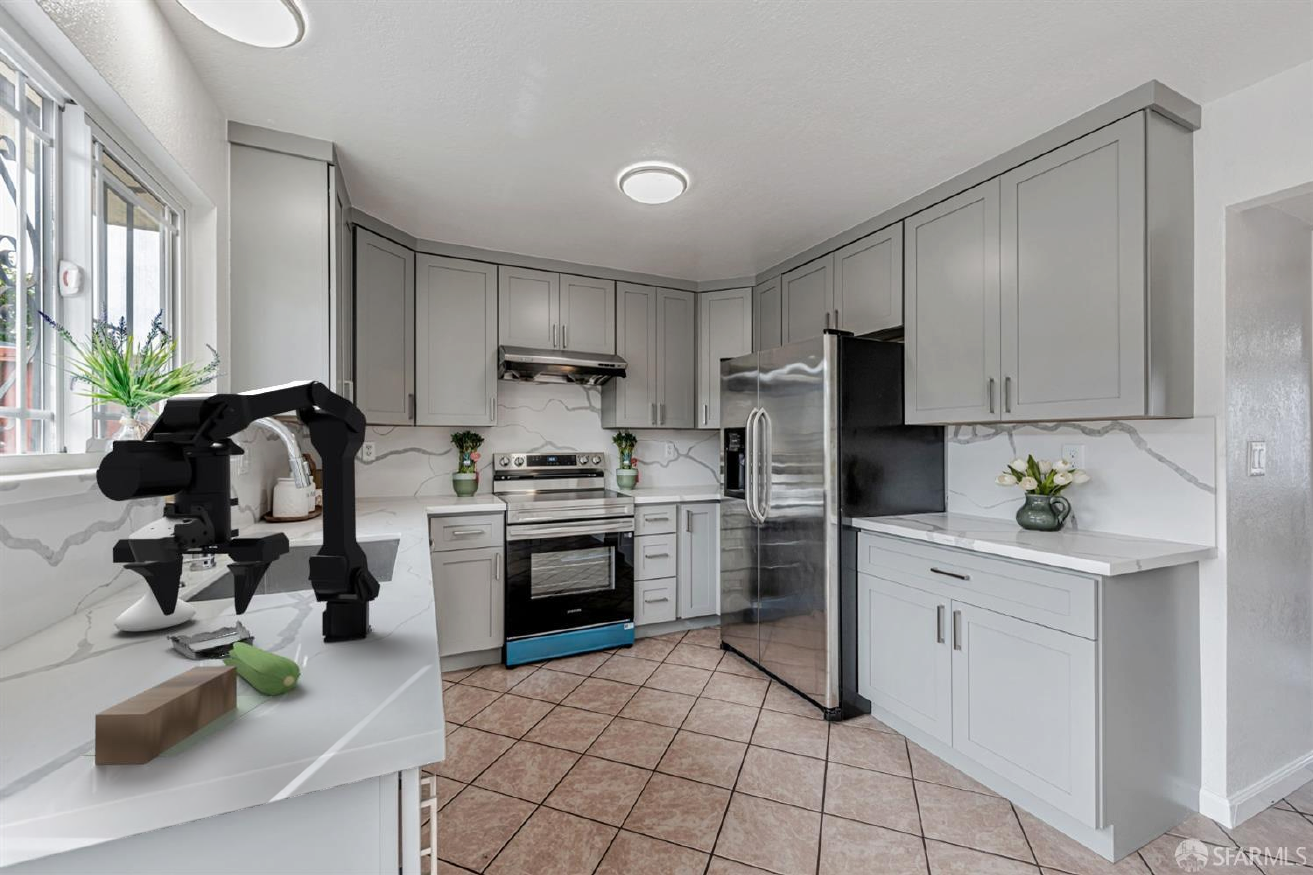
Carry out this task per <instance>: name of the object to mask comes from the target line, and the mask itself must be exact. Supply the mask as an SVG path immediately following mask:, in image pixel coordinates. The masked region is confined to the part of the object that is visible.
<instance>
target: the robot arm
mask: <svg viewBox="0 0 1313 875" xmlns="http://www.w3.org/2000/svg"><path fill="white" fill-rule="evenodd" d="M294 411H295V415H296V419H297V420H298V421H299V423H301V424H302V425H303V426H304V427H305V428H307V429H308V432H309V438H310V443H311V444H310V445H311V446H312V447H313V449H314V450H315V451H316V453H317V454H318V456H319V457H320V459H321V494H322V495H321V500H322V502H321V503H322V504H321V506H322V507H321V508H322V544H321V546H320V548H319V549H318V550H317V553H316V555H310V557H309V558H308V565H309V567H308V568H309V573H308V574H309V575H308V578H307V581H310V583H311V587H312V588H311V589H312V590H313V592H314V597H315V600H316V603H321V602H322V603H323V602H324V603H325V609H324V610H323V611H322V612H321V613H322V614H321V615H322V616H321V617H322V620H321V621H322V622H321V623H322V624H321V626H322V627H321V628H322V633H321V635H322V637H324V638H323V639H322V641H323V643H327V642H328V643H329V642H331V643H332V642H337V641H340V642H341V641H349V640H358V639H365V638H367V636H368V635H369V634H370V633H369V632H370V631H371V629H372V625H371V624H370V602H374V601H375V599H376V598H378V597H379V594H380V589H381V584H380V582H379V581H378V580H377V579H376V578H375V576H374V575H373V574H372V573H371V571H370V570H369V566H368V558H367V555H366V552H365V551H364V550H363V549H362V547H361V546H360V544H359V542H358V541H357V527H356V526H357V519H356V517H357V516H356V509H357V508H356V466H355V465H356V463H355V462H356V457H357V455H358V453H359V451H360V450H361V448H362V446H363V445H364V444H365V440H366V429H367V419H366V416H365V414H364V413H363V412H362V411H361V410H360V408H359V407H357V406H356V405H355V404H354V403H353V402H352V401H351V400H349V399H347V398H345V397H343V396H341V395H339V394H338V393H336V392H334V391H332V390H330V388H329V387H327V385H325V384H324V383H323V382H319V381H318V380H293V381H291V382H290V383H286V384H281V385H276V386H270V387H266V388H265V387H264V388H259V389H254V390H250V391H249V390H248V391H244V392H239V393H200V394H199V393H193V394H192V393H190V394H176V395H173V396H170V397H169V398H167V399H166V404H165V405H164V407H163V409H162V412H161V413H160V414H159V416H158V418H156V420H155V421H154V422H153V424H152V425H151V427H150V428H148V429H149V430H148V431H147V432H146V434H145V435H144V436H143V437H142V439H141V440H140V439H114V440H113V441H112V451H110V452H109V453H106V455H105V456H104V457H103V458H102V459H101V461H100V464H99V466H98V469H96V472H95V478H96V483H97V486H98V489H99V490H100V491H101V493H102V494H103V495H104V496H105V497H106V498H107V499H109V500H111V501H115V502H124V501H125V502H126V501H134V500H135V501H136V500H141V499H142V500H143V499H144V500H145V499H151V498H152V499H153V498H162V497H165V496H171V495H174V502H169V503H164V505H165V507H163V510H162V512H163V515H162V517H161V518H159V519H156V520H154V521H152V522H150V523H148V524H146V525H145V526H143V527H141V528H140V529H137V530H136V531H135V532H133V533H131V534H130V535H128V536H127V537H124V538H121V539H118V541H116V544H115V545H114V546H113V547H112V563H113V564H123V563H124V564H123V565H122V567H123V569H125V570H130V571H132V572H135V573H136V574H139V576H140V575H141V577H143V578H144V580H145V582H146V583H147V584H148V586H150V588H151V590H152V592H153V594H154V596H155V598H156V600H157V602H158V604H159V606H160V608H161V610H162V612H163V614H164V615H165V616H168V615H171V614H173V613H174V611H175V607H176V604H177V599H179V590H180V582H181V576H182V569H183V561H184V555H228V557H229V558H230V559H231V560H232V562H231V563H229V564H228V563H227V564H226V567H227V569H228V570H229V572H231V574H232V575H233V585H234V589H233V590H234V591H233V593H234V594H233V596H234V610H235V615H236V616H240V615H243V614H245V613H246V611H247V609H248V607H249V605H250V603H251V601H252V599H253V597H254V595H255V592H256V590H257V589H258V586H259V585H260V583H261V580H262V579H263V577H264V576H265V574H266V572H267V570H268V569H269V567H270V566H271V564H272V563H273V562H275V561H278V560H280V557H281V556H282V555H285V554H288V553H290V539H289V537H288V536H287V535H286V534H285V533H284V532H283V531H275V532H274V531H268V532H267V531H265V532H264V531H259V532H254V533H249V534H246V535H245V534H244V535H241V536H239V535H240V532H239V531H240V530H239V529H240V528H232V507H235V506H239V497H232V494H231V493H232V488H231V486H232V485H231V474H232V472H231V456H243V455H244V454H245V453H246V452H245V449H244V448H242V447H241V446H239V445H238V444H236V443H235V442H234V440H233V439H232V438H231V437H233V436H235V435H236V434H239V433H241V432H243V431H244V430H246V429H248V428H249V426H250V425H251V423H253V422H255V421H257V420H260V419H265V418H268V417H269V418H271V417H273V416H278V415H280V414H285V413H289V412H294Z"/></svg>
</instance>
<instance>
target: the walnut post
mask: <svg viewBox="0 0 1313 875" xmlns="http://www.w3.org/2000/svg"><path fill="white" fill-rule="evenodd" d="M237 677H238V673H237V666H227V665H208V666H207V665H204V666H202V665H201V666H200V665H196V666H194V667H192V668H190V669H188V670H186V671H184V672H182V673H180V674H178V675H175V676H173V677H172V678H169V679H167V680H165V681H163V682H161V683H158V684H156V685H155V686H153V687H151V688H148V689H146V690H144V691H142V692H140V693H137V694H136V695H134V696H131V697H130V698H127V699H125V700H123V701H121V702H119V703H117V704H115V705H113V706H111V707H108V708H107V709H104V710H102V711H100V712H98V713H96V714H95V719H94V720H95V724H94V725H95V728H94V730H95V732H94V733H95V734H94V739H95V740H94V741H95V742H94V746H95V747H94V748H95V756H94V764H95V765H146V764H147V763H149V762H150V761H151V760H153V759H154V758H156V757H159V756H158V755H160V754H161V753H163V752H164V751H166V750H168V749H169V748H171V747H173V746H174V745H176V744H177V743H179V742H181V741H182V740H184V739H185V738H187V737H189V736H190V735H192V734H193V733H195V732H197V731H198V730H200V729H201V728H203V727H205V726H206V725H208V724H209V723H211V722H213V721H214V720H216V719H218V718H219V717H221V716H222V715H224V714H226V713H227V712H229V711H230V710H232V709H234V708H235V707H237V696H238V693H237V692H238V691H237V690H238V686H237V685H238V678H237Z"/></svg>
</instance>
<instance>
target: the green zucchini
mask: <svg viewBox="0 0 1313 875" xmlns="http://www.w3.org/2000/svg"><path fill="white" fill-rule="evenodd" d="M234 642H235V641H234ZM233 647H234V649H233V650H231V651H229V654H230V655H229V657H230V658H226V657H225V658H222V662H223V664H225V666H237V675H239V676H241V678H243V679H244V680H246V682H248V683H250V685H251V686H253V687H254V689H257V690H258V691H259V692H261V693H262V694H266V695H267V696H277V695H282V694H285V693H287V692H290V691H291V690H293V689H294V687H295V686H296V684H297V682H298V680H299V679H300V677H301V674H302V672H300V667H299V665H298V664H297V662H295V661H294V660H293V659H291V658H289V657H285V656H281V655H279V654H276V653H272V652H269V651H266V650H263V649H262V648H258V647H256V646H251V645H248V644H245V643H241V642H235V643H234V644H233Z"/></svg>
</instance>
